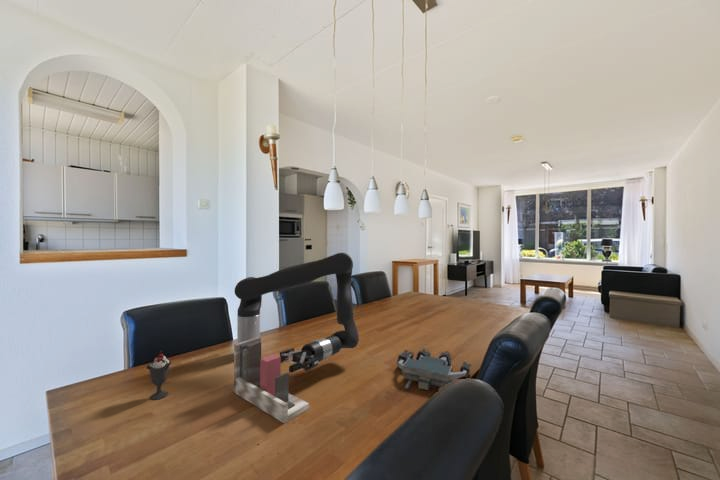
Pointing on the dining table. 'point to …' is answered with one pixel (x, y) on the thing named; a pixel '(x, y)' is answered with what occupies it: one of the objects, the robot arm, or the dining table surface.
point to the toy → (429, 369)
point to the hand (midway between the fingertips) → (281, 365)
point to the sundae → (159, 375)
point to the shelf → (263, 395)
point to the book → (269, 372)
